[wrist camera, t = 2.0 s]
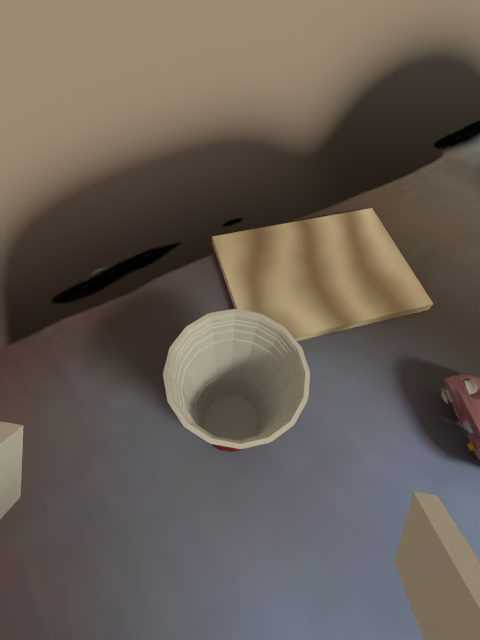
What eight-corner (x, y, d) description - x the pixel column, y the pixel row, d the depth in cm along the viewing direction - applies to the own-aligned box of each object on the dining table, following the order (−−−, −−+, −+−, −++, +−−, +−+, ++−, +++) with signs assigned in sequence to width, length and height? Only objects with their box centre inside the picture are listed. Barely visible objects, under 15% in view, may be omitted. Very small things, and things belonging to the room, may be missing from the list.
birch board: (369, 214, 57) (371, 207, 56) (428, 309, 49) (433, 303, 48) (212, 243, 53) (212, 236, 52) (249, 352, 45) (250, 347, 44)
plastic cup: (200, 504, 37) (196, 473, 27) (159, 397, 42) (142, 336, 32) (307, 452, 40) (340, 407, 29) (256, 358, 45) (270, 291, 34)
